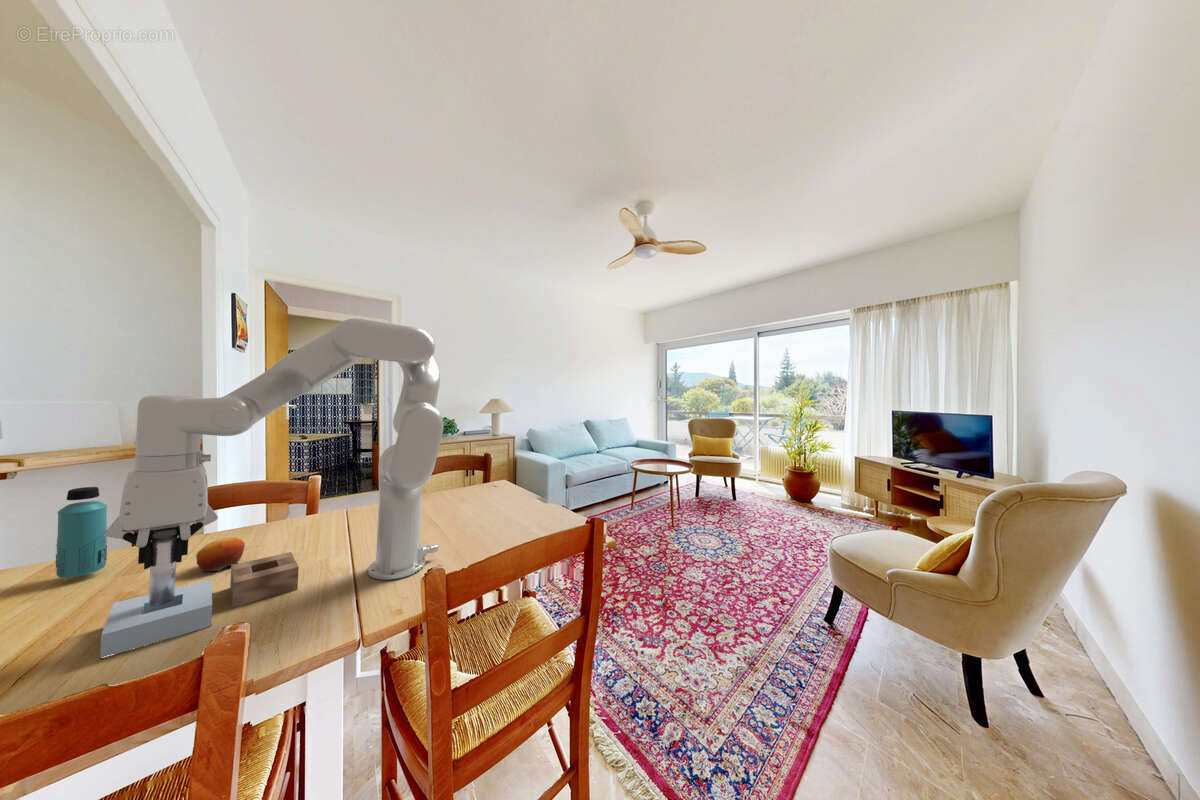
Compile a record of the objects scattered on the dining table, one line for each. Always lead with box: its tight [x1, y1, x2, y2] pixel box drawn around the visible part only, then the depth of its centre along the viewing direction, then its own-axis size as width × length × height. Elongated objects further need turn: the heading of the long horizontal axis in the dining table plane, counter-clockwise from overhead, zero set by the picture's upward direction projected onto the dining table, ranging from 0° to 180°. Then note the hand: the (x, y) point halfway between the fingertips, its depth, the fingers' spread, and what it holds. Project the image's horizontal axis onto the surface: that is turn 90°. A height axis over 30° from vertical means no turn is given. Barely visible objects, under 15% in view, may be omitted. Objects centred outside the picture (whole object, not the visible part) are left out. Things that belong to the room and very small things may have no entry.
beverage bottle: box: [54, 486, 109, 579], centre depth 79 cm, size 6×7×20 cm
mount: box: [229, 551, 299, 609], centre depth 78 cm, size 10×10×5 cm
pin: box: [148, 524, 180, 606], centre depth 65 cm, size 4×4×14 cm
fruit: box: [196, 536, 246, 572], centre depth 87 cm, size 8×8×8 cm
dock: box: [99, 579, 213, 658], centre depth 65 cm, size 12×12×4 cm
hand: (163, 562), depth 65 cm, fingers closed on pin, 3 cm apart
